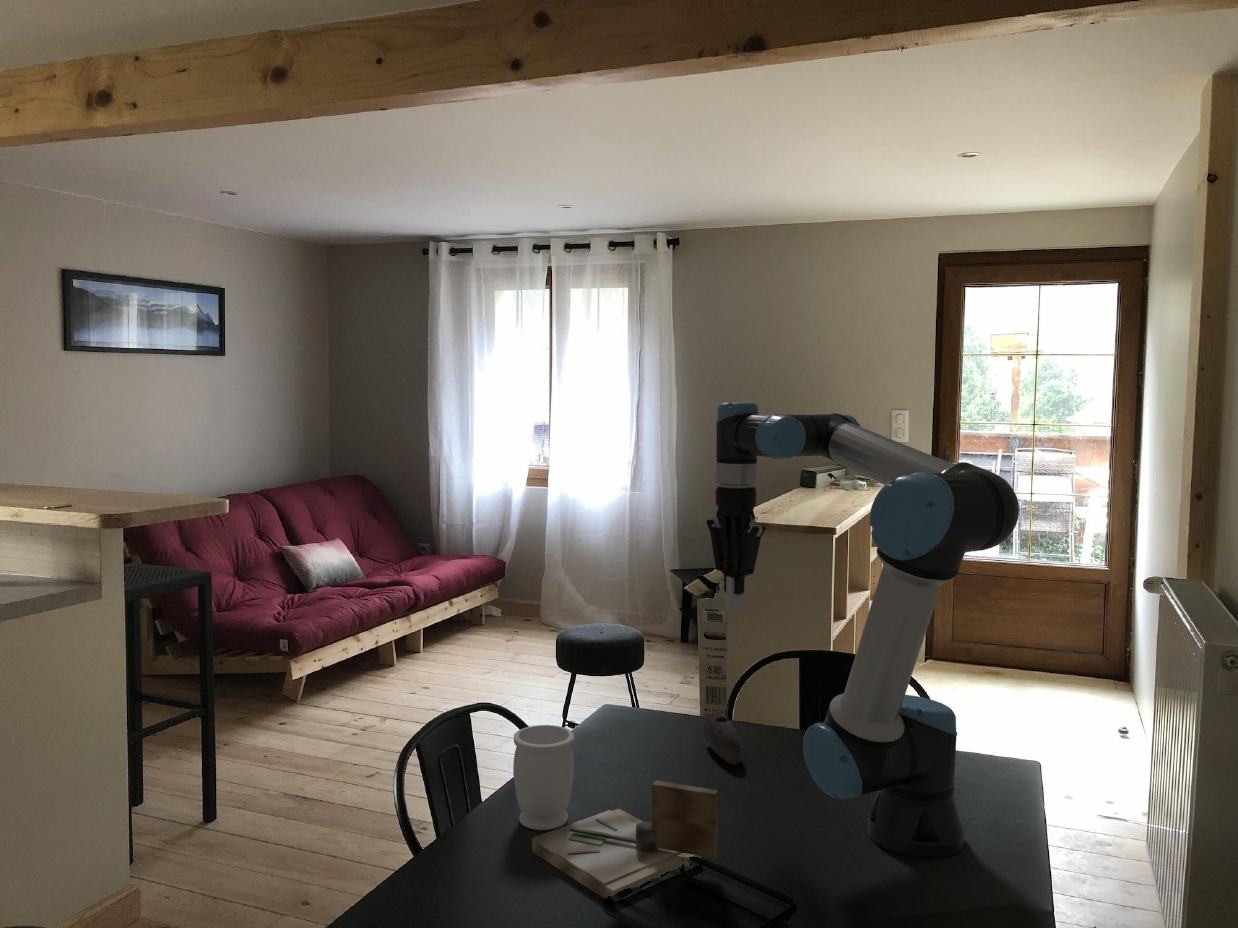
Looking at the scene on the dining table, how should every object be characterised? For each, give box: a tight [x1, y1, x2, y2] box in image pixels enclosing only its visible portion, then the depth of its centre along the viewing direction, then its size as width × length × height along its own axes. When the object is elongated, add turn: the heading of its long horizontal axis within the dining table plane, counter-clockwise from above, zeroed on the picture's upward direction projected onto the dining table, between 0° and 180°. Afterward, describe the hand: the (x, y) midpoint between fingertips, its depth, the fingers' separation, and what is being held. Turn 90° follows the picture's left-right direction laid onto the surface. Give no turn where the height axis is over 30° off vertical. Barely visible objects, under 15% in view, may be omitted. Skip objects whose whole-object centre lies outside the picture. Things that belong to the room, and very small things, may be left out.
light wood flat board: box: [531, 808, 703, 900], centre depth 150 cm, size 20×18×2 cm
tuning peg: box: [570, 780, 719, 859], centre depth 149 cm, size 24×4×10 cm, turn 70°
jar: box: [512, 724, 575, 831], centre depth 163 cm, size 11×10×15 cm
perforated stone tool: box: [703, 712, 743, 766], centre depth 192 cm, size 15×5×7 cm, turn 11°
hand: (733, 610), depth 179 cm, fingers closed
